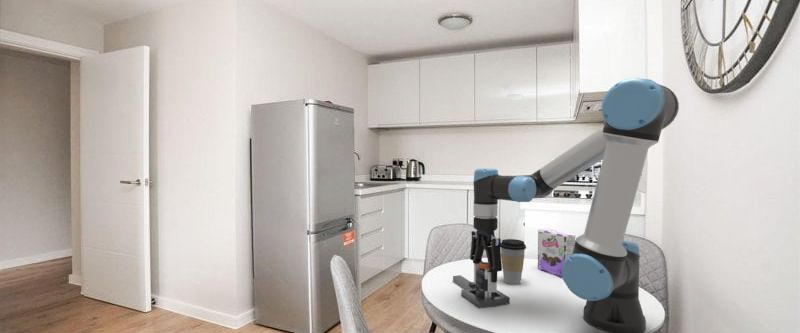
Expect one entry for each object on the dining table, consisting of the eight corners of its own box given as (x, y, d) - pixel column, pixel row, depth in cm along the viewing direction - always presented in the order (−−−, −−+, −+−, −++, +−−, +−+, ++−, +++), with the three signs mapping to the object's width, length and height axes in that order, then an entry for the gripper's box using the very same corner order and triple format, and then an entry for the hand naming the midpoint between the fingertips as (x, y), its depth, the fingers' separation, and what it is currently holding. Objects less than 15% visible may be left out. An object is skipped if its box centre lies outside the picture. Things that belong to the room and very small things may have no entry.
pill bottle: (494, 302, 118) (495, 266, 118) (475, 300, 120) (475, 265, 119) (494, 295, 124) (494, 261, 124) (475, 294, 125) (475, 260, 125)
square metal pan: (509, 303, 118) (509, 294, 118) (478, 308, 115) (478, 299, 115) (469, 279, 142) (469, 272, 142) (443, 282, 139) (443, 274, 138)
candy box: (536, 269, 156) (537, 229, 155) (547, 267, 158) (548, 228, 158) (564, 278, 143) (564, 235, 143) (575, 276, 146) (576, 234, 145)
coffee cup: (496, 283, 137) (496, 242, 137) (502, 276, 146) (502, 237, 145) (523, 287, 133) (523, 245, 133) (528, 280, 141) (528, 240, 141)
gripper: (515, 221, 113) (514, 297, 113) (479, 211, 132) (478, 276, 133) (493, 222, 110) (492, 300, 111) (459, 212, 130) (459, 278, 130)
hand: (485, 287), depth 122 cm, fingers open, 8 cm apart
